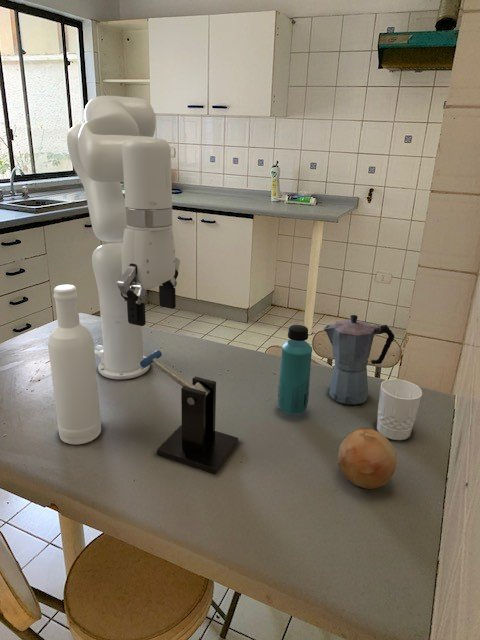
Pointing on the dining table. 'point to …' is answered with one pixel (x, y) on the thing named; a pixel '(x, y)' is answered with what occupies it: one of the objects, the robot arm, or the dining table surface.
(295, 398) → the beverage bottle
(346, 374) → the moka pot
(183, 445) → the bracket
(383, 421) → the white cup
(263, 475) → the dining table surface
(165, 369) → the lever
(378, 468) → the onion
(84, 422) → the bottle
